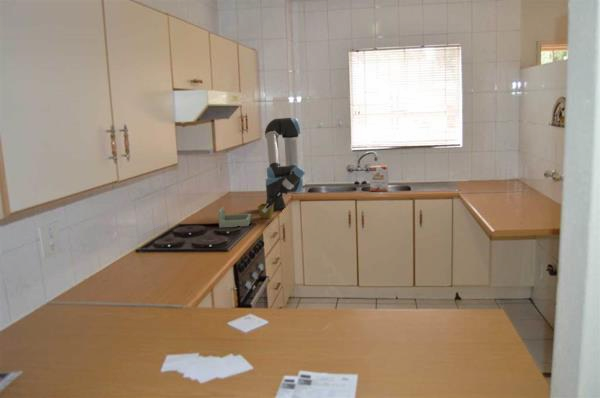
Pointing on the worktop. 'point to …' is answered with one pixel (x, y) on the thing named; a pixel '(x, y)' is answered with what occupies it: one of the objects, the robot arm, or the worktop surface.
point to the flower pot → (268, 212)
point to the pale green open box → (233, 219)
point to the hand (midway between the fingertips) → (265, 209)
